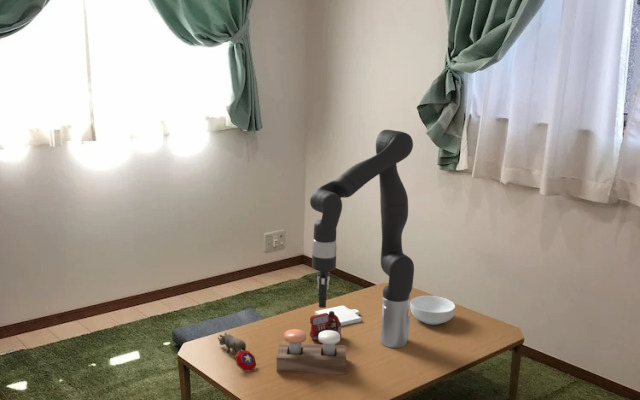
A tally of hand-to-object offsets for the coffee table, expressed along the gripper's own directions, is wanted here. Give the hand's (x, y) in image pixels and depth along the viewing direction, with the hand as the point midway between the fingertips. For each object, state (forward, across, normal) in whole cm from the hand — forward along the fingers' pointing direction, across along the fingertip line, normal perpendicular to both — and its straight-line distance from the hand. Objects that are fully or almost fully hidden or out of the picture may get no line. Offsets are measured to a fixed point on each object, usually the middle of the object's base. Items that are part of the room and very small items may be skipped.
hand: (322, 302), depth 196 cm
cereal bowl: (+22, +38, -41) cm, 60 cm away
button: (+23, -3, +24) cm, 33 cm away
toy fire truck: (+22, +19, -1) cm, 29 cm away
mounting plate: (+22, +37, -5) cm, 44 cm away
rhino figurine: (+23, +8, +31) cm, 39 cm away
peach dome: (+18, 0, +8) cm, 20 cm away
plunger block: (+22, 0, +3) cm, 23 cm away
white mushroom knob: (+18, 0, -3) cm, 18 cm away
